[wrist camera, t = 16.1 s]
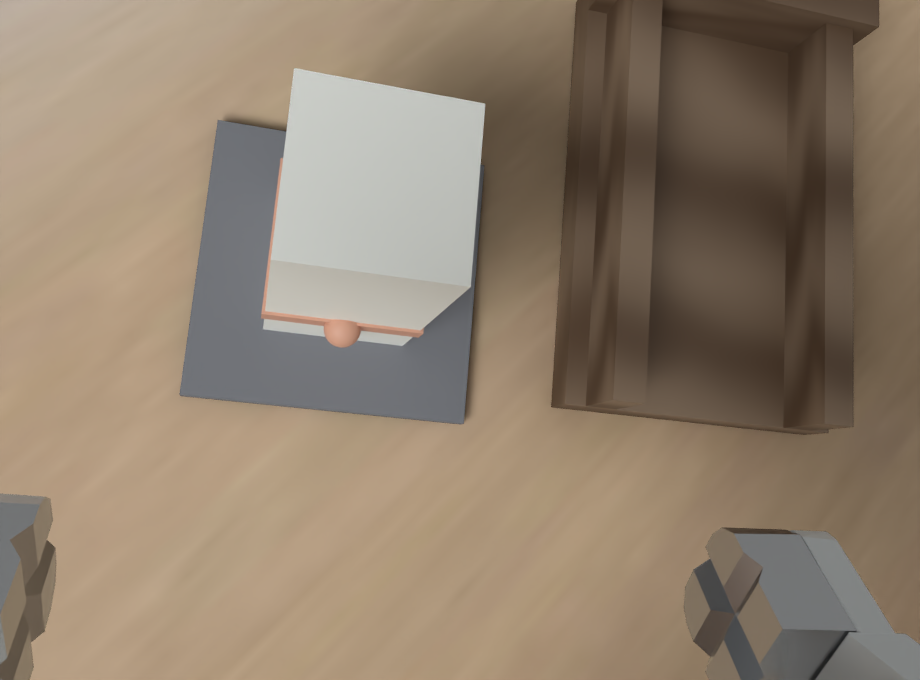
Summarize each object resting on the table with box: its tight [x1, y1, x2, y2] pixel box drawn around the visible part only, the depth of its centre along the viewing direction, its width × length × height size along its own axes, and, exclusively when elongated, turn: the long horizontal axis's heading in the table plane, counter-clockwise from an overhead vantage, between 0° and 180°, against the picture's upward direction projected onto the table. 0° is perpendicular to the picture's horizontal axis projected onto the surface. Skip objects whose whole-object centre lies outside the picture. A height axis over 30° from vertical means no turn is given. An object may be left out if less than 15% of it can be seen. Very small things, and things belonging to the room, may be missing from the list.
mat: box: [180, 120, 484, 424], centre depth 32 cm, size 10×10×1 cm
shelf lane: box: [551, 0, 879, 435], centre depth 34 cm, size 17×11×4 cm, turn 175°
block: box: [261, 68, 485, 348], centre depth 27 cm, size 6×5×10 cm
